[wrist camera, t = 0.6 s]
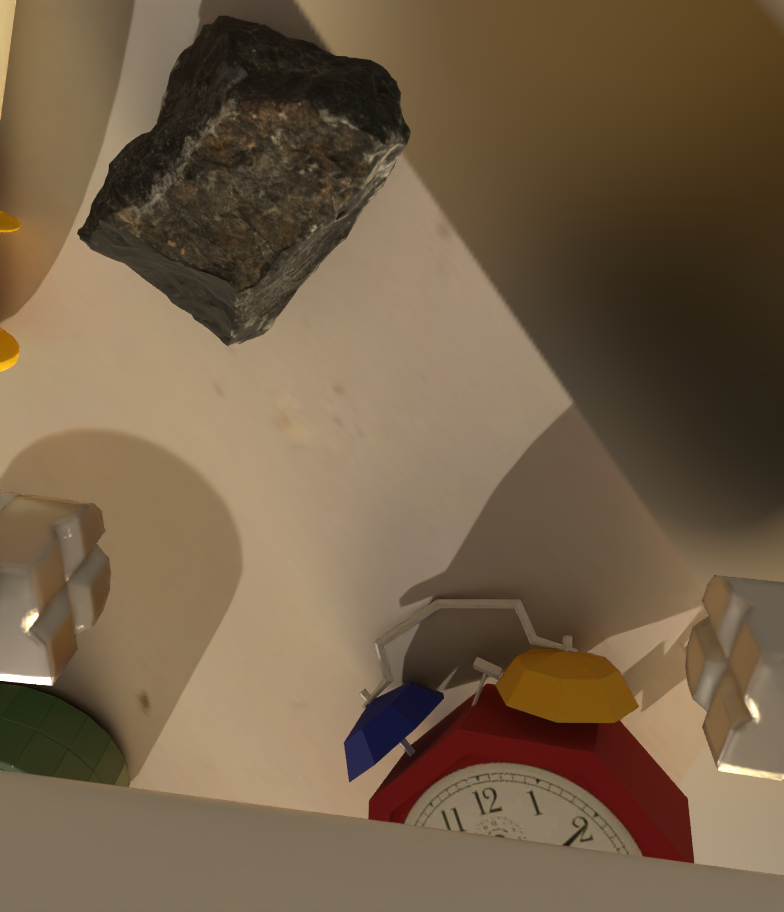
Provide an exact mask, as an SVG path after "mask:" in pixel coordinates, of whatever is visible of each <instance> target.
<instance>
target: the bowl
mask: <svg viewBox="0 0 784 912" xmlns="http://www.w3.org/2000/svg"><path fill="white" fill-rule="evenodd" d="M0 770H4V771H11V772H19V773H26V774H33V775H41V776H48V777H56V778H63V779H71V780H78V781H86V782H93V783H101V784H108V785H115V786H123V787H129V785H130V781H129V775H128V770H127V765H126V761H125V759H124V757H123V755H122V754H121V752H120V751H119V749H118V747H117V746H116V744H115V742H114V741H113V739H112V738H111V736H110V735H109V734H108V733H106V732H105V731H104V730H103V729H102V728H101V727H100V726H99V725H98V724H97V723H96V722H95V721H93V720H92V719H91V718H90V717H89V716H88V715H87V714H85V713H83V712H81V711H80V710H78V709H76V708H75V707H73V706H71V705H70V704H68V703H66V702H64V701H63V700H61V699H59V698H57V697H55V696H52V695H49V694H46V693H43V692H40V691H37V690H34V689H31V688H28V687H25V686H19V685H11V684H2V683H0Z"/></svg>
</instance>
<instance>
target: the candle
mask: <svg viewBox="0 0 784 912" xmlns="http://www.w3.org/2000/svg"><path fill="white" fill-rule="evenodd" d="M15 8H16V0H0V119H1V111H2V104H3V97H4V89H5V82H6V74H7V67H8V60H9V52H10V45H11V37H12V30H13V22H14V15H15ZM19 229H20V222H19V221H18V220H17V219H15V218H14V217H12V216H11V215H9V214H7V213H5V212H3V211H1V210H0V232H13V231H17V230H19ZM18 356H19V344H18V343H17V341H16V340H15V338H14V337H13V336H11V335H10V334H9V333H7V332H6V331H5V330H3V329H1V328H0V372H1V371H3V370H6V369H8V368H10V367H12V366H13V365H14V364H15V363H16V362H17V361H18Z"/></svg>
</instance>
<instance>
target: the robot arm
mask: <svg viewBox="0 0 784 912" xmlns="http://www.w3.org/2000/svg"><path fill="white" fill-rule="evenodd" d="M104 532H105V528H104V522H103V517H102V511H101V510H100V509H99V508H98V507H97V506H96V505H95V504H93V503H85V502H78V501H70V500H63V499H56V498H48V497H41V496H33V495H26V494H25V495H22V494H19V493H10V492H1V491H0V680H1V681H11V682H21V683H31V684H41V685H51V686H53V684H54V683H55V681H56V680H57V678H58V677H59V675H60V674H61V672H62V671H63V670H64V668H65V667H66V665H67V664H68V662H69V661H70V659H71V658H72V656H73V655H74V653H75V652H76V651H77V649H78V648H77V642H76V634H78V633H80V632H82V631H84V630H86V629H88V628H90V627H91V626H93V625H94V624H95V622H96V621H97V619H98V618H99V616H100V614H101V613H102V611H103V609H104V606H105V603H106V600H107V597H108V594H109V590H110V577H111V571H110V563H109V558H108V557H107V556H106V554H105V553H104V552H103V551H102V550H101V549H100V547H99V546H98V545H97V544H96V543H97V541H98V540H99V539H100V537H101V536H102V535H103V533H104ZM702 602H703V604H704V606H705V609H706V611H707V614H708V616H707V617H706V618H705V619H703V620H702V621H700V622H699V623H698V624H696V625H695V626H693V628H692V631H691V635H690V638H689V641H688V645H687V652H686V675H687V682H688V686H689V689H690V692H691V695H692V698H693V700H694V701H696V702H697V703H698V704H699V705H700V706H701V707H702V708H703V709H705V710H706V711H707V715H706V718H705V720H704V723H703V726H702V728H703V730H704V733H705V736H706V739H707V742H708V745H709V747H710V750H711V753H712V756H713V759H714V762H715V764H716V767H717V770H718V771H724V772H730V773H737V774H743V775H750V776H757V777H763V778H769V779H776V780H782V781H784V582H777V581H767V580H756V579H747V578H736V577H727V576H717V575H714V577H713V578H712V579H711V581H710V582H709V583H708V585H707V588H706V590H705V593H704V596H703V599H702ZM0 912H784V875H777V874H770V873H762V872H754V871H747V870H739V869H731V868H724V867H716V866H709V865H702V864H694V863H687V862H680V861H672V860H665V859H658V858H650V857H643V856H636V855H628V854H621V853H614V852H606V851H599V850H592V849H584V848H577V847H570V846H562V845H555V844H548V843H540V842H533V841H526V840H518V839H511V838H504V837H496V836H489V835H482V834H474V833H467V832H460V831H452V830H445V829H437V828H430V827H422V826H415V825H407V824H400V823H392V822H385V821H377V820H370V819H362V818H355V817H347V816H340V815H332V814H325V813H317V812H310V811H302V810H295V809H287V808H280V807H272V806H265V805H257V804H250V803H242V802H235V801H227V800H220V799H213V798H205V797H198V796H190V795H183V794H175V793H168V792H160V791H153V790H145V789H138V788H130V787H123V786H115V785H108V784H101V783H93V782H86V781H78V780H71V779H63V778H56V777H48V776H41V775H33V774H26V773H19V772H11V771H4V770H0Z"/></svg>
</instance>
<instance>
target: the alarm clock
mask: <svg viewBox="0 0 784 912" xmlns="http://www.w3.org/2000/svg"><path fill="white" fill-rule="evenodd" d="M439 608H515V610H516V612H517V615H518V617H519V619H520V621H521V624H522V626H523V628H524V631H525V633H526V635H527V637H528V640H529V642H530V644H533V645H538V646H543V647H548V648H535V649H533V650H530V651H528V652H525V653H523V654H520V655H518V656H516V658H515V659H514V660H513V662H512V663H511V664H510V666H509V667H508V668H507V670H506V671H505V672H504V674H503V675H502V677H501V678H500V679H499V677H500V674H501V672H502V668H501V667H498V666H496V665H494V664H492V663H490V662H488V661H485V660H483V659H481V658H479V657H477V658H476V660H475V662H474V665H473V668H474V669H476V670H478V671H480V672H482V673H484V674H483V677H482V679H481V682H480V685H479V687H478V690H477V692H476V693H475V694H473V695H472V696H471V697H470V698H469V699H467V700H466V701H465V702H464V703H462V704H461V705H460V706H459V707H457V708H456V709H455V710H454V711H453V712H451V713H450V714H449V715H448V716H446V717H445V718H444V719H443V720H441V721H440V722H439V723H438V724H436V725H435V726H434V727H433V728H432V729H430V730H429V731H428V732H427V733H425V734H424V735H423V736H422V737H420V738H419V739H418V740H417V741H415V742H414V743H413V744H412V745H410V744H409V743H408V742H407V740H406V739H405V737H406V736H408V735H409V734H410V733H411V732H412V731H413V730H414V729H415V728H417V727H418V725H419V724H420V723H421V722H422V721H423V720H424V719H425V718H426V717H427V716H428V715H429V714H430V713H431V712H432V711H433V709H434V708H435V707H436V706H437V705H438V704H439V703H440V702H441V701H442V700H443V699H444V695H443V693H441V692H438V691H436V690H433V689H430V688H427V687H424V686H422V685H419V684H416V683H413V682H409V683H407V684H405V685H402V686H400V687H398V688H396V689H394V690H392V691H390V692H388V693H386V694H384V695H382V696H380V697H378V698H376V697H377V696H378V695H379V694H380V693H381V692H382V691H383V690H384V689H385V688H386V687H387V686H388V685H389V684H390V683H391V682H392V681H393V680H392V676H391V672H390V668H389V665H388V661H387V657H386V654H385V650H384V646H385V645H386V644H388V643H389V642H391V641H392V640H394V639H395V638H396V637H398V636H399V635H401V634H402V633H404V632H405V631H407V630H408V629H410V628H411V627H413V626H414V625H416V624H417V623H419V622H420V621H422V620H423V619H425V618H426V617H428V616H429V615H431V614H432V613H433V612H435V611H436V610H438V609H439ZM572 638H573V637H572V636H570V635H563V644H559V643H556V642H553V641H550V640H547V639H544V638H541V637H538V636H537V635H536V633H535V631H534V629H533V626H532V624H531V622H530V620H529V617H528V615H527V613H526V611H525V608H524V606H523V604H522V602H521V599H436V600H435V601H434V602H432V603H431V604H429V605H428V606H426V607H425V608H423V609H422V610H420V611H419V612H417V613H416V614H414V615H413V616H412V617H410V618H409V619H407V620H406V621H404V622H403V623H401V624H400V625H398V626H397V627H395V628H394V629H392V630H391V631H389V632H388V633H387V634H385V635H384V636H382V637H381V638H379V639H378V640H376V641H375V642H374V643H375V647H376V651H377V654H378V658H379V662H380V666H381V669H382V673H383V677H384V678H383V680H382V681H381V682H380V684H379V685H378V686H377V688H376V689H375V690H374V692H373V693H372V694H371V695H370V694H369V693H368V691H367V690H366V689H364V690H363V691H362V692H361V693H360V695H361V696H362V697H363V699H364V700H365V701H366V702H365V704H364V705H363V708H365V707H366V709H365V710H364V712H363V713H362V715H361V717H360V718H359V720H358V721H357V723H356V724H355V726H354V728H353V729H352V731H351V732H350V734H349V736H348V737H347V739H346V740H345V742H344V746H345V754H346V761H347V769H348V776H349V782H351V781H352V780H354V779H355V778H356V777H358V776H359V775H361V774H362V773H364V772H365V771H366V770H368V769H369V768H371V767H372V766H374V765H375V764H376V763H377V762H378V761H380V760H381V759H382V758H383V757H384V756H385V755H386V754H387V753H389V752H390V751H391V750H392V749H393V748H394V747H395V746H396V745H398V744H400V745H401V747H402V748H403V749H404V750H405V753H404V754H403V756H402V757H401V758H400V760H399V761H398V762H397V764H396V765H395V766H394V768H393V769H392V770H391V772H390V773H389V775H388V776H387V777H386V779H385V780H384V781H383V783H382V784H381V785H380V787H379V788H378V789H377V791H376V792H375V793H374V795H373V796H372V797H371V799H370V800H369V818H368V819H370V820H377V821H385V822H392V823H400V824H407V825H415V826H422V827H430V828H437V829H445V830H452V831H460V832H467V833H474V834H482V835H489V836H496V837H504V838H511V839H518V840H526V841H533V842H540V843H548V844H555V845H562V846H570V847H577V848H584V849H592V850H599V851H606V852H614V853H621V854H628V855H636V856H643V857H650V858H658V859H665V860H672V861H680V862H687V863H694V855H693V846H692V836H691V826H690V817H689V807H688V798H687V797H686V796H685V795H684V794H683V793H682V791H681V790H680V789H679V788H678V787H677V786H676V785H675V783H674V782H673V781H672V780H671V779H670V778H669V776H668V775H667V774H666V773H665V772H664V771H663V770H662V768H661V767H660V766H659V765H658V764H657V763H656V762H655V760H654V759H653V758H652V757H651V756H650V755H649V753H648V752H647V751H646V750H645V749H644V748H643V747H642V745H641V744H640V743H639V742H638V741H637V740H636V739H635V737H634V736H633V735H632V734H631V733H630V732H629V731H628V729H627V728H626V727H625V726H624V725H623V724H622V722H621V721H620V719H622V718H623V717H625V716H626V715H628V714H629V713H631V712H632V711H634V710H635V709H637V708H638V707H639V706H638V704H637V702H636V700H635V698H634V697H633V695H632V693H631V691H630V690H629V688H628V686H627V684H626V682H625V681H624V679H623V677H622V675H621V673H620V672H619V670H618V669H617V668H616V667H615V666H614V665H613V664H612V663H611V662H610V661H609V660H607V659H606V658H605V657H602V656H598V655H594V654H591V653H587V652H583V651H579V650H578V649H575V648H572ZM487 675H489V676H491V677H493V678H495V679H497V680H498V679H499V681H498V682H497V683H496V685H493V684H486V685H485V686H483V684H484V682H485V679H486V676H487ZM375 698H376V699H375Z"/></svg>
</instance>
